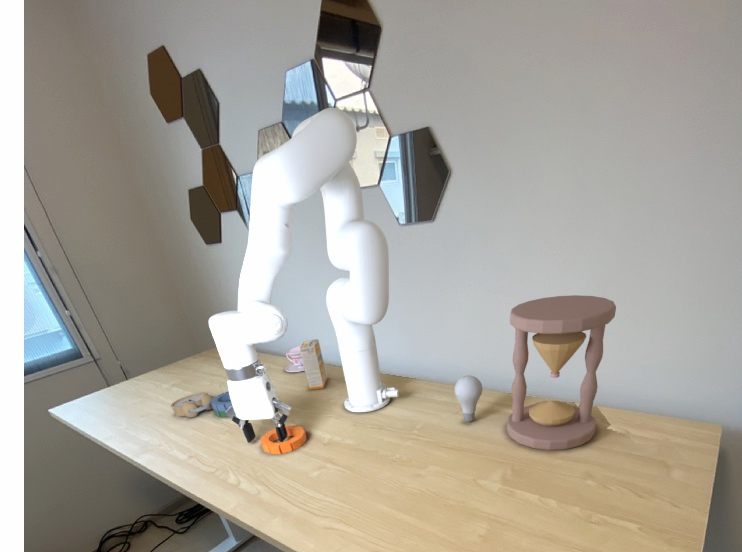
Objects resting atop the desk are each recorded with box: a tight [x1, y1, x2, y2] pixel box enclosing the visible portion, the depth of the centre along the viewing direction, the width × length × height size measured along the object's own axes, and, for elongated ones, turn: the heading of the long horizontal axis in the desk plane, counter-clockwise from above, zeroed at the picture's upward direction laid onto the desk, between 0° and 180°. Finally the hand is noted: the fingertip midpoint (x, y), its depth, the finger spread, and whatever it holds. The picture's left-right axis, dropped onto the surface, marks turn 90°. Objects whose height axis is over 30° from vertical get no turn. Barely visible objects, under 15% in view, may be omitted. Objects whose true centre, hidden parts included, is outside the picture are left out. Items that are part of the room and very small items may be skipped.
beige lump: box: [170, 392, 214, 419], centre depth 125 cm, size 11×5×15 cm
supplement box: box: [300, 338, 328, 390], centre depth 127 cm, size 8×5×13 cm, turn 179°
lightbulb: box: [454, 375, 483, 423], centre depth 93 cm, size 6×6×11 cm
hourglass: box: [506, 294, 617, 451], centre depth 81 cm, size 18×18×25 cm
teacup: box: [284, 345, 305, 373], centre depth 146 cm, size 12×12×6 cm
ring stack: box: [211, 390, 235, 418], centre depth 122 cm, size 11×11×4 cm
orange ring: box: [260, 424, 307, 455], centre depth 100 cm, size 11×11×2 cm
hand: (267, 439), depth 100 cm, fingers open, 8 cm apart
